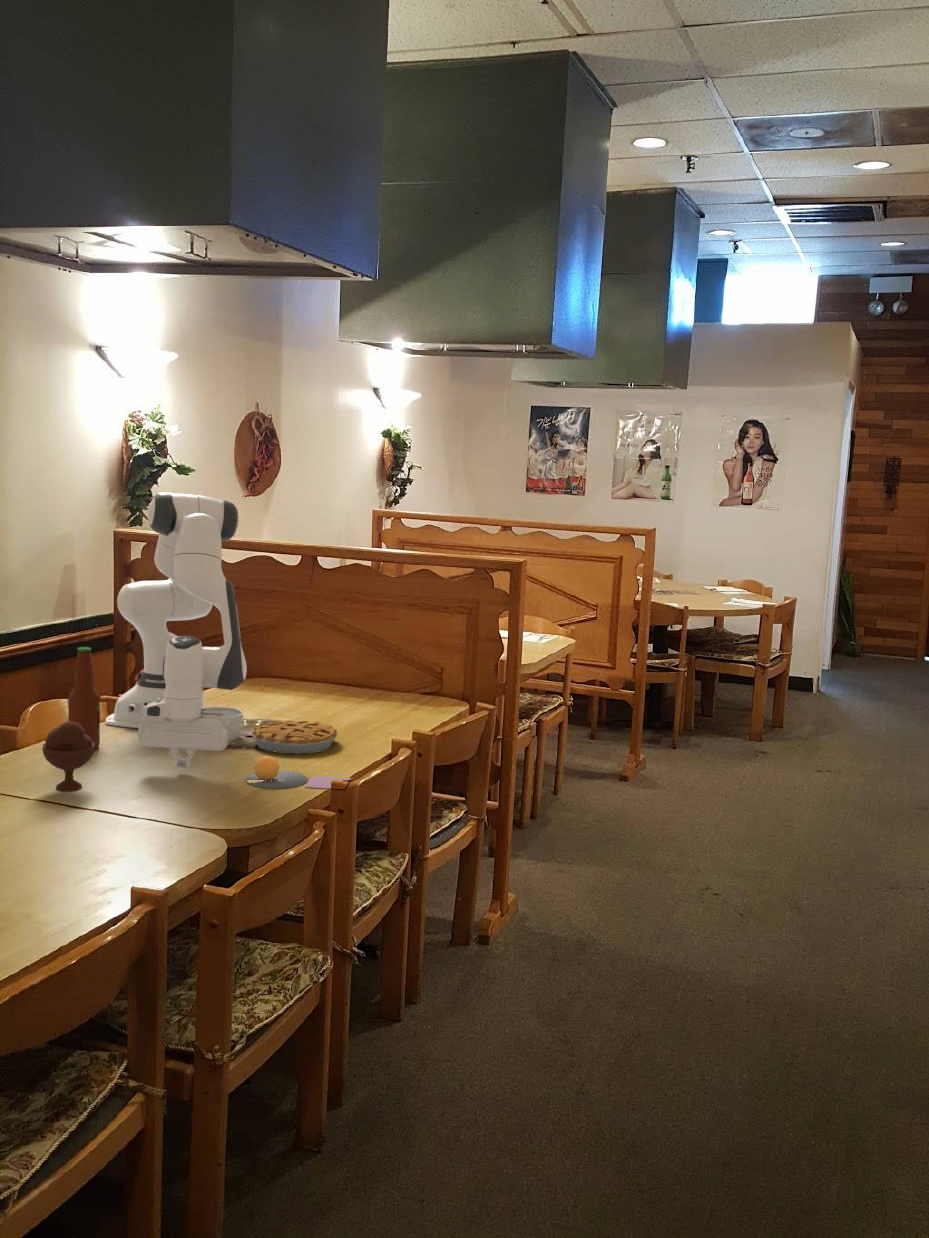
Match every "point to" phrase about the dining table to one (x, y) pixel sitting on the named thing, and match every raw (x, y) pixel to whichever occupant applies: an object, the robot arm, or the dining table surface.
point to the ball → (266, 768)
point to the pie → (294, 736)
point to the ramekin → (231, 720)
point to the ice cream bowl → (68, 752)
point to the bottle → (85, 698)
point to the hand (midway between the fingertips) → (182, 766)
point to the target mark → (289, 781)
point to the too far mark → (322, 782)
